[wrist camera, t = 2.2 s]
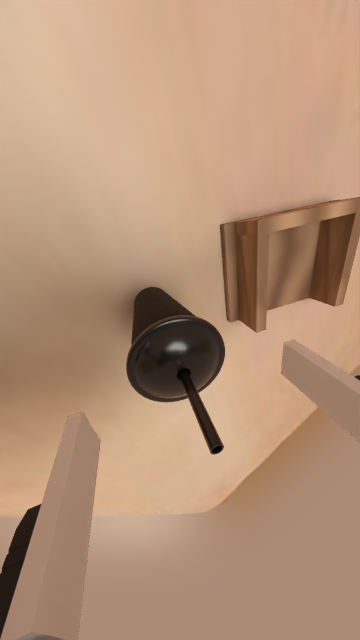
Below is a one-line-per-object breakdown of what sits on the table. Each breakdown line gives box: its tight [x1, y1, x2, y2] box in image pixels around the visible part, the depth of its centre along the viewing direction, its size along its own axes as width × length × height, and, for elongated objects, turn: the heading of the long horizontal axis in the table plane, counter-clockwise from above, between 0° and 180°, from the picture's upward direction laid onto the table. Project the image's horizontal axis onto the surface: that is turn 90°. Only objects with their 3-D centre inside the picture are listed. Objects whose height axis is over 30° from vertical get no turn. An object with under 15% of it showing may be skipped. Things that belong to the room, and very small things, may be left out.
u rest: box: [220, 197, 360, 333], centre depth 26 cm, size 18×14×6 cm
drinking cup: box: [126, 287, 225, 454], centre depth 17 cm, size 8×8×20 cm
